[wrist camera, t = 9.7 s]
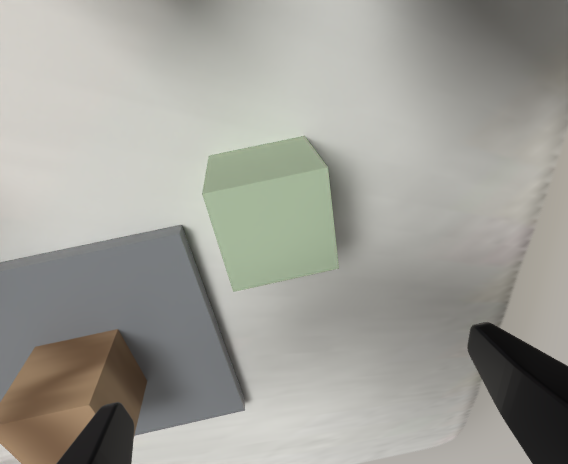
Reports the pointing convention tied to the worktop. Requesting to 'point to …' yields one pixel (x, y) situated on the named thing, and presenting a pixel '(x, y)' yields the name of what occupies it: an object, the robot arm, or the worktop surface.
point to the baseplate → (125, 320)
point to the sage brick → (271, 212)
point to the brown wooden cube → (67, 394)
